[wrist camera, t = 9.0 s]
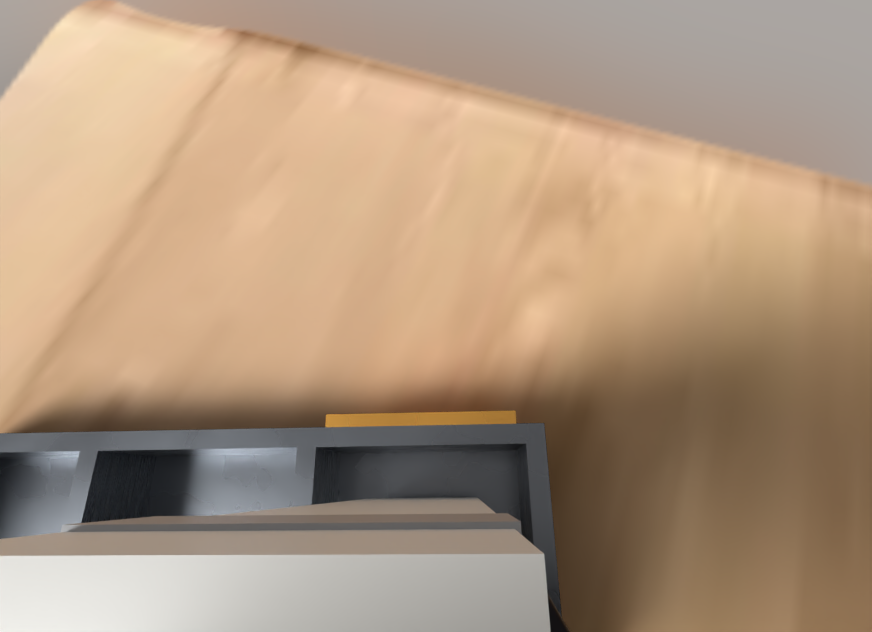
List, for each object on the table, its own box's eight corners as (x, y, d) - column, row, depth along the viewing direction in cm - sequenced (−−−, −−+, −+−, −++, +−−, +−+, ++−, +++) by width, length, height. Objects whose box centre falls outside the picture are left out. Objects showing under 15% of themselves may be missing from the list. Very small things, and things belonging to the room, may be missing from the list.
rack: (528, 424, 18) (543, 410, 14) (549, 697, 15) (574, 760, 11) (-11, 434, 19) (-115, 423, 16) (-91, 689, 16) (-240, 744, 13)
